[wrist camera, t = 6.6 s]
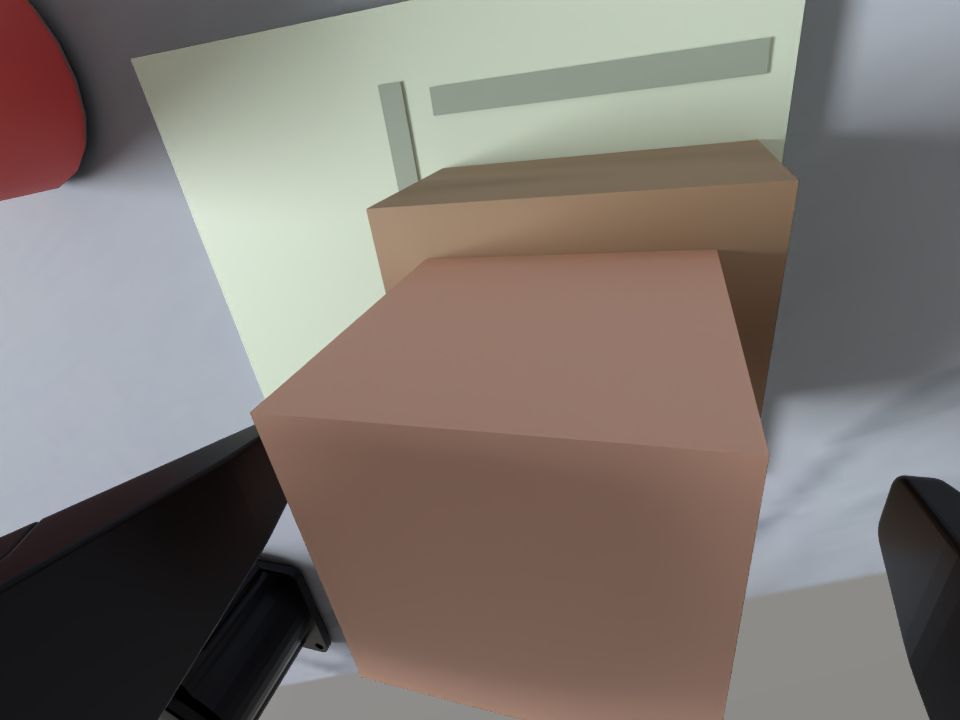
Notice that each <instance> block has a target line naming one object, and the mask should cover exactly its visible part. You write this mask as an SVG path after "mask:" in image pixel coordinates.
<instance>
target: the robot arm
mask: <svg viewBox="0 0 960 720" xmlns="http://www.w3.org/2000/svg"><path fill="white" fill-rule="evenodd" d="M286 504H287V500H286V497H285V495H284V492H283V490H282V488H281V485H280V483H279V481H278V478H277V476H276V473H275V471H274V469H273V466H272V464H271V462H270V459H269V457H268V454H267V452H266V450H265V447H264V445H263V443H262V440H261V438H260V435H259V433H258V431H257V428H256V426H255V425H253V426H250V427H248V428H246V429H244V430H241V431H239V432H237V433H235V434H232V435H230V436H228V437H226V438H223V439H221V440H219V441H217V442H214V443H212V444H210V445H208V446H205V447H203V448H201V449H199V450H196V451H194V452H192V453H190V454H187V455H185V456H183V457H181V458H178V459H176V460H174V461H172V462H169V463H167V464H165V465H163V466H160V467H158V468H156V469H154V470H151V471H149V472H147V473H145V474H142V475H140V476H138V477H136V478H133V479H131V480H129V481H127V482H124V483H122V484H120V485H118V486H115V487H113V488H111V489H109V490H106V491H104V492H102V493H100V494H97V495H95V496H93V497H91V498H88V499H86V500H84V501H82V502H79V503H77V504H75V505H73V506H70V507H68V508H66V509H64V510H61V511H59V512H57V513H55V514H52V515H50V516H48V517H45V518H43V519H42V520H41V521H40V522H34V523H32V524H29V525H27V526H25V527H23V528H20V529H18V530H16V531H14V532H12V533H9V534H7V535H5V536H2V537H0V720H258V719H259V718H260V716H261V714H262V713H263V711H264V709H265V707H266V706H267V704H268V702H269V701H270V699H271V698H272V696H273V694H274V693H275V691H276V689H277V688H278V686H279V685H280V683H281V681H282V680H283V678H284V676H285V675H286V673H287V671H288V670H289V668H290V667H291V665H292V663H293V662H294V660H295V658H296V657H297V655H298V653H299V652H300V650H301V648H302V647H305V648H309V649H313V650H317V651H321V652H327V650H328V648H329V646H330V645H331V641H330V638H329V636H328V634H327V632H326V629H325V627H324V625H323V623H322V620H321V618H320V616H319V613H318V611H317V609H316V607H315V604H314V602H313V600H312V598H311V595H310V593H309V591H308V589H307V586H306V584H305V582H304V579H303V577H302V575H301V573H300V572H299V571H298V570H296V569H295V568H293V567H289V566H284V565H279V564H274V563H269V562H264V561H259V560H257V559H258V557H259V556H260V554H261V552H262V551H263V549H264V547H265V546H266V544H267V542H268V540H269V538H270V536H271V534H272V533H273V531H274V529H275V527H276V525H277V523H278V521H279V519H280V516H281V514H282V512H283V510H284V508H285V506H286ZM878 537H879V543H880V547H881V552H882V556H883V560H884V564H885V568H886V572H887V576H888V580H889V584H890V588H891V593H892V596H893V601H894V605H895V609H896V613H897V617H898V621H899V626H900V630H901V634H902V638H903V642H904V645H905V649H906V653H907V657H908V660H909V663H910V667H911V669H912V672H913V675H914V678H915V681H916V684H917V687H918V690H919V692H920V695H921V697H922V700H923V703H924V706H925V708H926V711H927V713H928V716H929V719H930V720H960V492H959V491H958V490H956V489H955V488H953V487H952V486H950V485H949V484H947V483H945V482H944V481H942V480H940V479H936V478H929V477H917V476H906V475H903V476H899V477H897V478H896V479H895V480H894V481H893V483H892V485H891V488H890V491H889V494H888V497H887V500H886V503H885V506H884V509H883V512H882V515H881V518H880V521H879V526H878Z"/></svg>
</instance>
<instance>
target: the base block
mask: <svg viewBox="0 0 960 720" xmlns="http://www.w3.org/2000/svg"><path fill="white" fill-rule="evenodd" d="M798 183H799V179H797V178H796V177H795V176H794V175H793V174H792V173H791V172H790V171H789V170H788V169H787V168H786V167H785V166H784V165H783V164H782V163H781V162H780V161H779V160H778V159H777V158H776V157H775V156H774V155H773V154H772V153H771V152H770V151H769V150H768V149H767V148H766V147H765V146H764V145H763V144H762V143H761V142H760V141H759V140H748V141H737V142H726V143H715V144H704V145H693V146H682V147H671V148H660V149H649V150H638V151H627V152H616V153H605V154H594V155H583V156H572V157H561V158H550V159H539V160H528V161H517V162H506V163H495V164H484V165H473V166H462V167H451V168H442V169H440V170H438V171H436V172H435V173H433V174H431V175H429V176H427V177H425V178H423V179H421V180H420V181H418V182H416V183H414V184H412V185H410V186H408V187H406V188H404V189H403V190H401V191H399V192H397V193H395V194H393V195H391V196H389V197H387V198H386V199H384V200H382V201H380V202H378V203H376V204H374V205H372V206H371V207H369V208H367V209H366V211H367V215H368V220H369V224H370V228H371V232H372V237H373V241H374V245H375V250H376V254H377V258H378V263H379V267H380V271H381V275H382V280H383V284H384V288H385V293H388V292H389V291H390V290H391V289H392V288H393V287H394V286H396V285H397V284H398V283H399V282H400V281H401V280H402V279H404V278H405V277H406V276H407V275H408V274H409V273H410V272H412V271H413V270H414V269H415V268H416V267H417V266H419V265H420V264H421V263H422V262H423V261H424V260H425V259H444V258H474V257H504V256H534V255H564V254H594V253H625V252H655V251H685V250H715V249H717V252H718V256H719V260H720V264H721V268H722V272H723V275H724V279H725V283H726V287H727V291H728V295H729V299H730V303H731V307H732V311H733V314H734V318H735V322H736V326H737V330H738V334H739V338H740V342H741V346H742V350H743V353H744V357H745V361H746V365H747V369H748V373H749V377H750V381H751V385H752V389H753V393H754V396H755V400H756V404H757V408H758V412H759V416H760V418H761V412H762V405H763V399H764V393H765V387H766V381H767V375H768V368H769V362H770V356H771V350H772V344H773V338H774V331H775V325H776V319H777V313H778V307H779V301H780V294H781V288H782V282H783V276H784V270H785V264H786V257H787V251H788V245H789V239H790V233H791V227H792V220H793V214H794V208H795V202H796V196H797V190H798Z"/></svg>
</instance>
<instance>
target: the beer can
mask: <svg viewBox="0 0 960 720" xmlns="http://www.w3.org/2000/svg"><path fill="white" fill-rule="evenodd" d="M86 144H87V137H86V113H85V109H84V105H83V101H82V97H81V94H80V90H79V86H78V82H77V79H76V77H75V75H74V73H73V71H72V68H71V66H70V64H69V62H68V60H67V58H66V56H65V54H64V51H63V49H62V47H61V45H60V43H59V42H58V40H57V39H56V37H55V36H54V34H53V33H52V32H51V30H50V29H49V27H48V26H47V24H46V23H45V22H44V20H43V19H42V17H41V16H40V14H39V13H38V12H37V10H36V9H35V8H34V7H33V6H32V5H31V4H30V3H29V2H28V1H27V0H0V201H2V200H7V199H11V198H16V197H20V196H24V195H29V194H33V193H38V192H42V191H46V190H51V189H55V188H59V187H60V186H61V185H63V184H64V183H65V182H66V181H67V180H68V179H69V178H70V177H71V176H72V175H74V174H75V173H76V172H77V171H78V168H79V165H80V162H81V159H82V156H83V153H84V150H85V147H86Z"/></svg>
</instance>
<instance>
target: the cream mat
mask: <svg viewBox="0 0 960 720" xmlns="http://www.w3.org/2000/svg"><path fill="white" fill-rule="evenodd" d="M804 7H805V0H410V1H405V2H400V3H395V4H390V5H386V6H381V7H376V8H371V9H367V10H362V11H357V12H352V13H347V14H343V15H338V16H333V17H328V18H323V19H319V20H314V21H309V22H304V23H299V24H295V25H290V26H285V27H280V28H276V29H271V30H266V31H261V32H256V33H252V34H247V35H242V36H237V37H232V38H228V39H223V40H218V41H213V42H208V43H204V44H199V45H194V46H189V47H184V48H180V49H175V50H170V51H165V52H161V53H156V54H151V55H146V56H141V57H137V58H132V59H131V62H132V64H133V67H134V69H135V72H136V74H137V77H138V79H139V82H140V84H141V87H142V90H143V92H144V95H145V97H146V100H147V102H148V105H149V107H150V110H151V112H152V115H153V117H154V120H155V122H156V125H157V127H158V130H159V133H160V135H161V138H162V140H163V143H164V145H165V148H166V150H167V153H168V155H169V158H170V160H171V163H172V165H173V168H174V170H175V173H176V176H177V178H178V181H179V183H180V186H181V188H182V191H183V193H184V196H185V198H186V201H187V203H188V206H189V208H190V211H191V214H192V216H193V219H194V221H195V224H196V226H197V229H198V231H199V234H200V236H201V239H202V241H203V244H204V246H205V249H206V251H207V254H208V257H209V259H210V262H211V264H212V267H213V269H214V272H215V274H216V277H217V279H218V282H219V284H220V287H221V289H222V292H223V294H224V297H225V300H226V302H227V305H228V307H229V310H230V312H231V315H232V317H233V320H234V322H235V325H236V327H237V330H238V332H239V335H240V337H241V340H242V343H243V345H244V348H245V350H246V353H247V355H248V358H249V360H250V363H251V365H252V368H253V370H254V373H255V375H256V378H257V380H258V383H259V386H260V388H261V391H262V393H263V396H264V398H265V399H266V398H267V397H268V396H269V395H271V394H272V393H273V392H274V391H275V390H276V389H277V388H279V387H280V386H281V385H282V384H283V383H284V382H286V381H287V380H288V379H289V378H290V377H291V376H292V375H294V374H295V373H296V372H297V371H298V370H299V369H300V368H302V367H303V366H304V365H305V364H306V363H307V362H308V361H310V360H311V359H312V358H313V357H314V356H315V355H316V354H318V353H319V352H320V351H321V350H322V349H323V348H324V347H326V346H327V345H328V344H329V343H330V342H331V341H333V340H334V339H335V338H336V337H337V336H338V335H339V334H341V333H342V332H343V331H344V330H345V329H346V328H347V327H349V326H350V325H351V324H352V323H353V322H354V321H355V320H357V319H358V318H359V317H360V316H361V315H362V314H363V313H365V312H366V311H367V310H368V309H369V308H370V307H372V306H373V305H374V304H375V303H376V302H377V301H378V300H380V299H381V298H382V297H383V296H384V295H385V294H386V293H385V288H384V284H383V280H382V275H381V271H380V267H379V263H378V258H377V254H376V250H375V245H374V241H373V237H372V232H371V228H370V224H369V220H368V215H367V211H366V209H367V208H369V207H371V206H372V205H374V204H376V203H378V202H380V201H382V200H384V199H386V198H387V197H389V196H391V195H393V194H395V193H397V192H399V191H401V190H403V189H404V188H406V187H408V186H410V185H412V184H414V183H416V182H418V181H420V180H421V179H423V178H425V177H427V176H429V175H431V174H433V173H435V172H436V171H438V170H440V169H442V168H451V167H462V166H473V165H484V164H495V163H506V162H517V161H528V160H539V159H550V158H561V157H572V156H583V155H594V154H605V153H616V152H627V151H638V150H649V149H660V148H671V147H682V146H693V145H704V144H715V143H726V142H737V141H748V140H759V141H760V142H761V143H762V144H763V145H764V146H765V147H766V148H767V149H768V150H769V151H770V152H771V153H772V154H773V155H774V156H775V157H776V158H777V159H778V160H779V161H780V162H781V163H782V159H783V152H784V145H785V138H786V132H787V125H788V118H789V111H790V104H791V97H792V90H793V83H794V76H795V69H796V62H797V55H798V49H799V42H800V35H801V28H802V21H803V14H804Z"/></svg>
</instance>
